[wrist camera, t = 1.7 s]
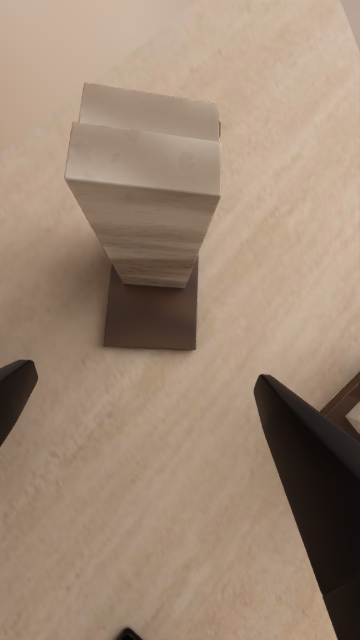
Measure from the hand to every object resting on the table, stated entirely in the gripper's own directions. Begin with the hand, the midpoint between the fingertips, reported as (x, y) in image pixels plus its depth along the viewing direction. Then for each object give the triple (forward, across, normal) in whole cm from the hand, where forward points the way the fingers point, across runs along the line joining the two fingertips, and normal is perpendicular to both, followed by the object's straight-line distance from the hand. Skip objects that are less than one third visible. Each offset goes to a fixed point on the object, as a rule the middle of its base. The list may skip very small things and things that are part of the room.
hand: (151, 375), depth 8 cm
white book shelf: (+17, +1, +1) cm, 17 cm away
